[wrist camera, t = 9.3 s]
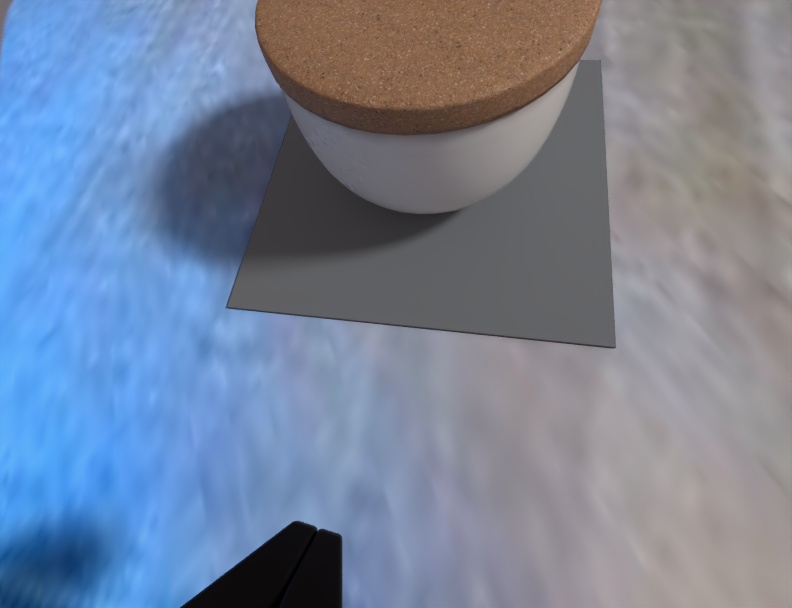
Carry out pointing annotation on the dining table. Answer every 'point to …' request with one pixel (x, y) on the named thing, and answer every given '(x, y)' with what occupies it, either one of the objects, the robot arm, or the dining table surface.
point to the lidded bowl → (425, 89)
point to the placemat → (447, 244)
